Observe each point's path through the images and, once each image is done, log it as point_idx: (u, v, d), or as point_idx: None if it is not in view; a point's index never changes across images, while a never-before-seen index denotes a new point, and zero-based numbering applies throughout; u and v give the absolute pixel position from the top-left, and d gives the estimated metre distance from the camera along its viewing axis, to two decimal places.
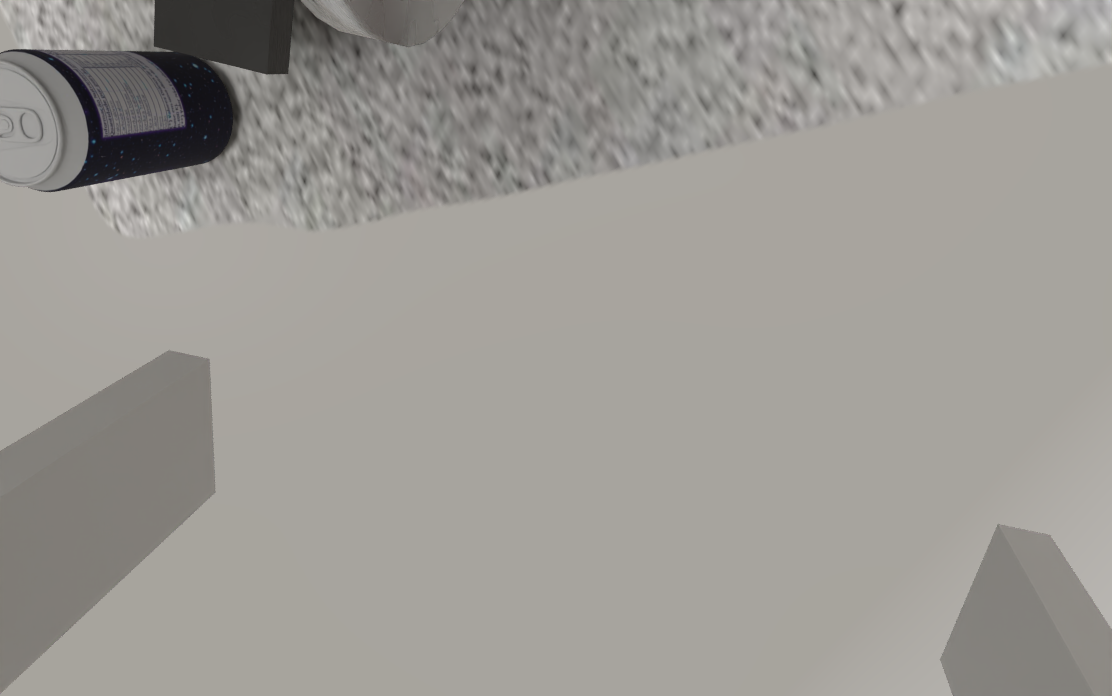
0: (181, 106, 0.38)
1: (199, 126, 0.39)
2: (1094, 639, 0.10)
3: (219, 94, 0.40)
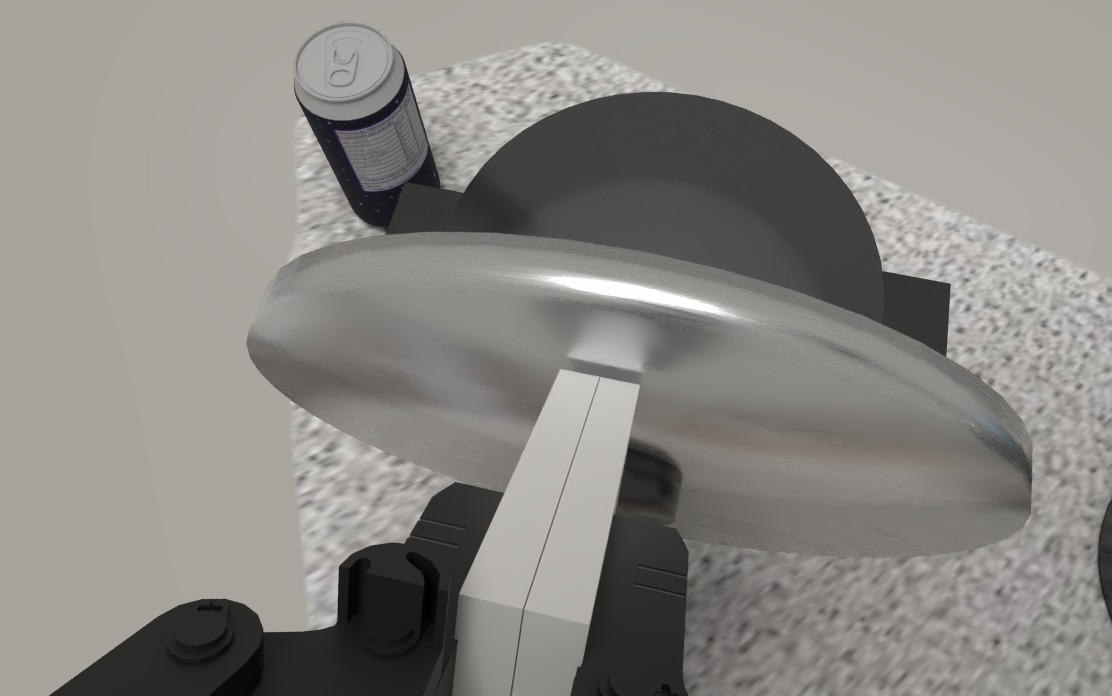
0: (379, 190, 0.44)
1: (367, 201, 0.45)
2: (607, 440, 0.13)
3: None
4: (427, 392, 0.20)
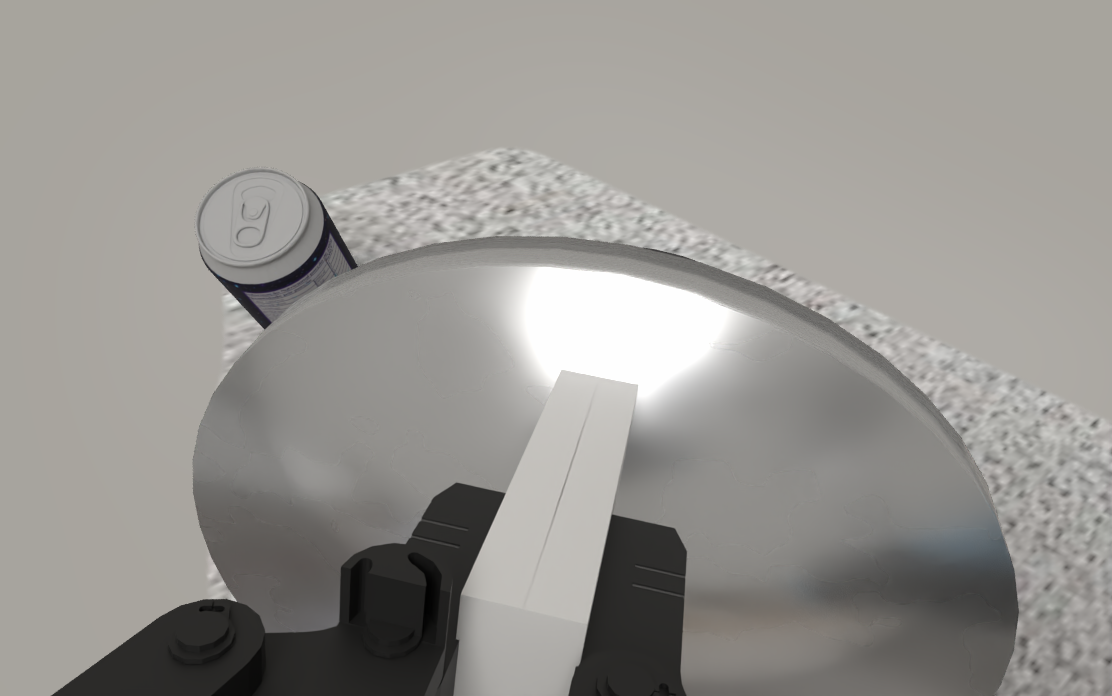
0: None
1: None
2: (606, 440, 0.13)
3: None
4: (382, 491, 0.19)
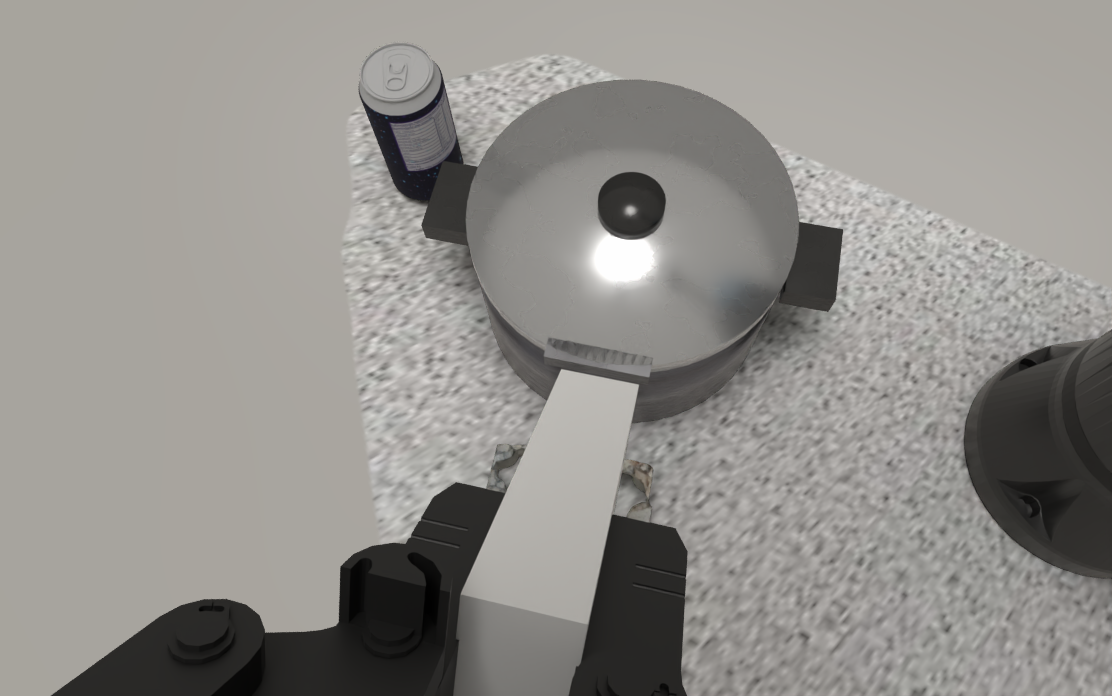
0: (420, 169, 0.58)
1: (409, 179, 0.59)
2: (606, 440, 0.13)
3: None
4: (565, 157, 0.50)
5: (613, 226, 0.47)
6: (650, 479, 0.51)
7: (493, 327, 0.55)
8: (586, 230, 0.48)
